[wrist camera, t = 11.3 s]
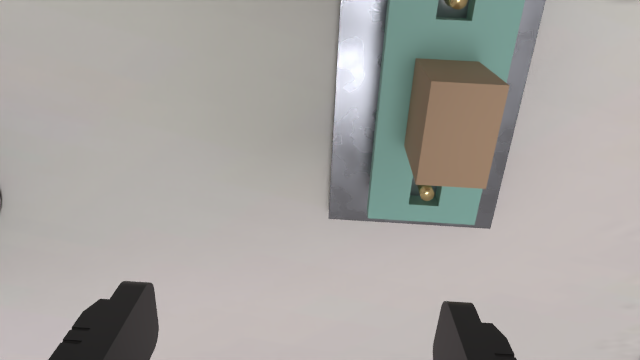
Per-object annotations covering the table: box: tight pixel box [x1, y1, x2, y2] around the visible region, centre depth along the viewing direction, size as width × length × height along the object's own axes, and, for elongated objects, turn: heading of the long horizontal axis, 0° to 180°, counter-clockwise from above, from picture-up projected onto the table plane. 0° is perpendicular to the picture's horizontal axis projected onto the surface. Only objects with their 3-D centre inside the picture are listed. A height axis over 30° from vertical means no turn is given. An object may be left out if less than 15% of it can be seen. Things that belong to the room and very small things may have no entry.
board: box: [367, 0, 525, 225], centre depth 28 cm, size 18×8×8 cm, turn 178°
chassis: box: [329, 0, 546, 229], centre depth 33 cm, size 14×24×6 cm, turn 178°
